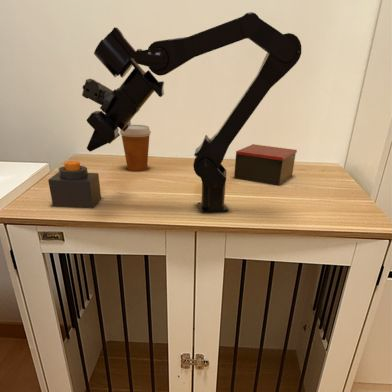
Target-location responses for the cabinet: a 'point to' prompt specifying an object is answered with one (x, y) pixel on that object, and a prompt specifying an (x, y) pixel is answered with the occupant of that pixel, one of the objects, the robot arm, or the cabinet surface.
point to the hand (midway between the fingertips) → (88, 149)
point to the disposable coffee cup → (136, 146)
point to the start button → (72, 165)
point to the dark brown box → (263, 169)
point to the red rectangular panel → (266, 152)
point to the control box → (75, 188)
